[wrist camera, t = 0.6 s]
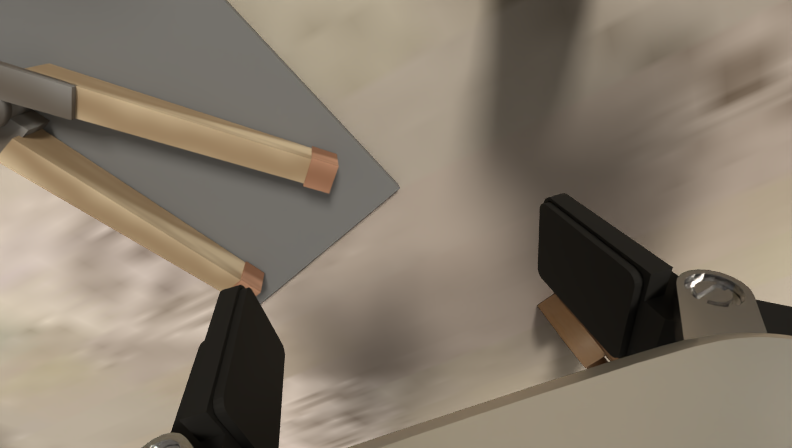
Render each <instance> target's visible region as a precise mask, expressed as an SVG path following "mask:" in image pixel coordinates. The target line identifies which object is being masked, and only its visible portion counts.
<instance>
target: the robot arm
mask: <svg viewBox="0 0 792 448" xmlns="http://www.w3.org/2000/svg"><path fill="white" fill-rule="evenodd" d="M672 268H673V267H671V266H670V265H668V264H667V263H666V262H664V261H663V260H661V259H660V258H658V257H657V256H655V255H654V254H652V253H651V252H650V251H648V250H647V249H645V248H644V247H642V246H641V245H639V244H638V243H637V242H635V241H634V240H632V239H631V238H629V237H628V236H626V235H625V234H624V233H622V232H621V231H619V230H618V229H616V228H615V227H613V226H612V225H611V224H609V223H608V222H606V221H605V220H603V219H602V218H600V217H599V216H597V215H596V214H595V213H593V212H592V211H590V210H589V209H587V208H586V207H584V206H583V205H582V204H580V203H579V202H577V201H576V200H574V199H573V198H571V197H570V196H569V195H567V194H565V193H564V194H559V195H555V196H552V197H548V198H546V199H545V201H544V204H541V206H540V219H539V248H538V272H539V274H540V276H541V278H542V279H543V280H544V281H545V283H546V284H547V285H548V286H549V287H550V288H551V289H552V290H553V292H554V293H555V294H556V295H557V296H558V297H559V298H560V299H561V301H562V302H563V303H564V304H565V305H566V306H567V307H568V308H569V310H570V311H571V312H572V313H573V314H574V315H575V316H576V317H577V319H578V320H579V321H580V322H581V323H582V324H583V325H584V326H585V328H586V329H587V330H588V331H589V332H590V333H591V334H592V335H593V337H594V338H595V339H596V340H597V341H598V342H599V343H600V344H601V346H602V347H603V348H604V349H605V350H606V351H607V352H608V353H609V354H610V355H611V356H612V357H614V358H619V359H617V360H614V361H610V362H607V363H604V364H601V365H598V366H595V367H592V368H589V369H586V370H582V371H579V372H576V373H573V374H570V375H567V376H564V377H561V378H558V379H554V380H551V381H548V382H545V383H542V384H539V385H536V386H533V387H530V388H527V389H523V390H520V391H517V392H514V393H511V394H508V395H505V396H502V397H499V398H496V399H493V400H490V401H487V402H484V403H481V404H478V405H475V406H472V407H469V408H465V409H462V410H459V411H456V412H453V413H450V414H447V415H444V416H441V417H438V418H435V419H432V420H429V421H426V422H423V423H420V424H417V425H414V426H411V427H408V428H405V429H402V430H399V431H396V432H393V433H390V434H387V435H384V436H381V437H378V438H375V439H372V440H369V441H366V442H363V443H360V444H357V445H354V446H351V447H348V448H792V307H790V306H785V305H780V304H775V303H770V302H765V301H760V300H755V297H754V295H753V293H752V291H751V290H750V289H749V288H748V287H747V286H746V285H745V284H744V283H742V282H741V281H739V280H737V279H735V278H733V277H731V276H729V275H726V274H723V273H720V272H715V271H711V270H690V271H687V272H684V273H682V274H681V275H680V276H678V275H676V274H675V273H673V272H672ZM284 360H285V353H284V348H283V345H282V343H281V341H280V339H279V337H278V336H277V334H276V332H275V330H274V328H273V327H272V325H271V323H270V321H269V319H268V318H267V316H266V314H265V312H264V310H263V308H262V307H261V305H260V303H259V301H258V299H257V298H256V296H255V294H254V292H253V290H252V289H251V288H250V287H248V288H245V287H244V286H243V285H238V286H234V287H231V288H227V289H224V290H222V291H221V292H220V294H219V297H218V300H217V303H216V306H215V310H214V313H213V316H212V319H211V322H210V325H209V328H208V332H207V335H206V338H205V341H203V342H202V343H201V345H200V347H199V349H198V352H197V355H196V358H195V361H194V364H193V367H192V370H191V373H190V376H189V379H188V382H187V385H186V388H185V391H184V394H183V397H182V400H181V403H180V406H179V409H178V412H177V416H176V419H175V422H174V425H173V428H172V431H171V433H168V434H163V435H161V436H159V437H157V438H155V439H153V440H151V441H150V442H148V443H147V444H146V445H144V446H143V447H142V448H279V433H280V419H281V404H282V389H283V375H284Z"/></svg>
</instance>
